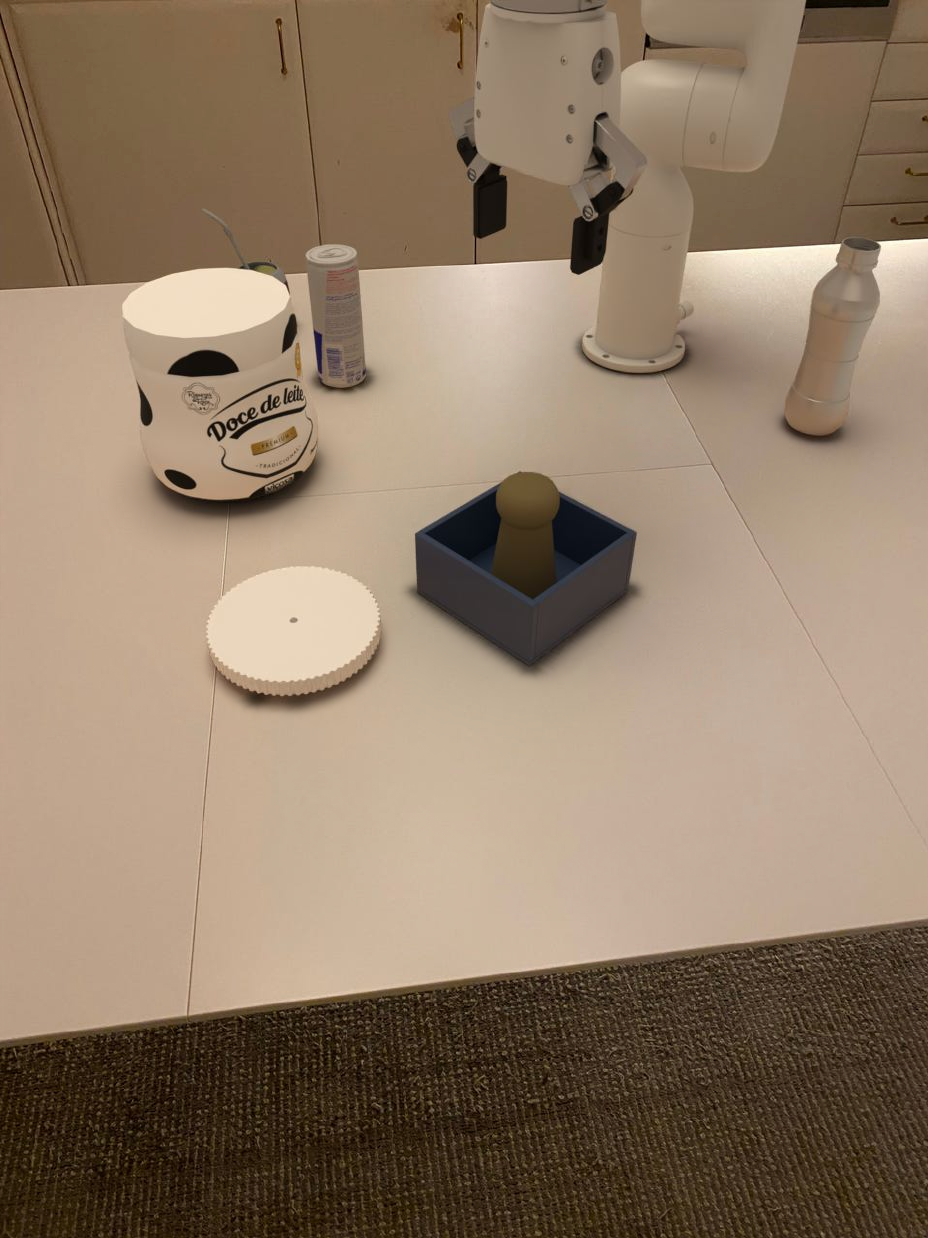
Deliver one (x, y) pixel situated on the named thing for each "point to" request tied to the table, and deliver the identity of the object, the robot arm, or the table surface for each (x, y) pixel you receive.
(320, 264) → the beverage can
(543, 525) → the olive brown pawn
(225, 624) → the plastic lid
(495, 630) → the blue square bin
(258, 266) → the mate gourd
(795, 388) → the plastic bottle
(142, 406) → the milk container
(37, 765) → the table surface
